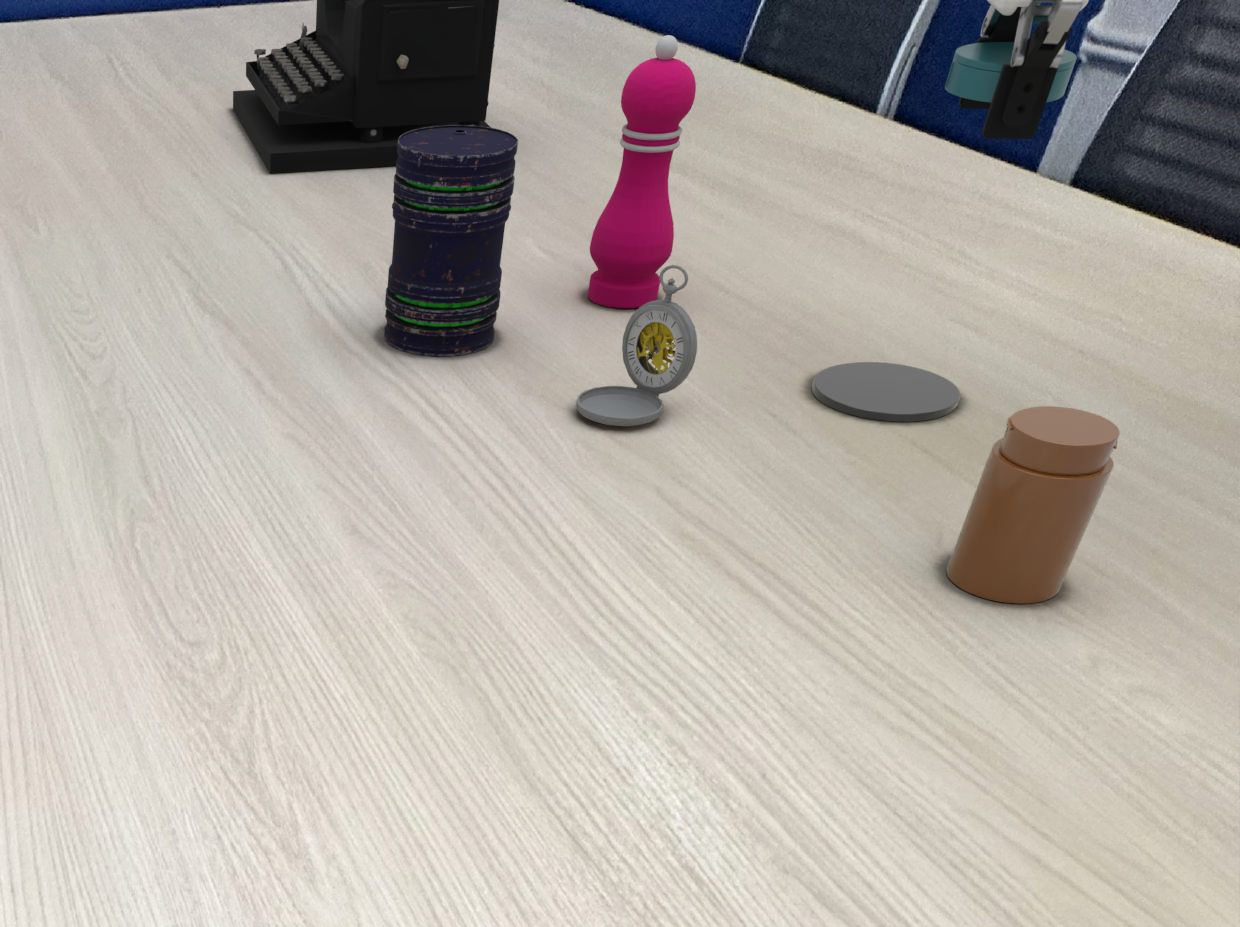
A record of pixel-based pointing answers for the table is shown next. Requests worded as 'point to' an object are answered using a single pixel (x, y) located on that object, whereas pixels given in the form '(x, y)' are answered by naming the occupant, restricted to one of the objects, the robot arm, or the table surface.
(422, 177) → the dark blue cylinder
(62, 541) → the table surface
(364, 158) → the typewriter
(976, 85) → the jam lid
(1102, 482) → the jam jar
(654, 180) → the pepper mill
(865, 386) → the coaster
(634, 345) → the pocket watch
